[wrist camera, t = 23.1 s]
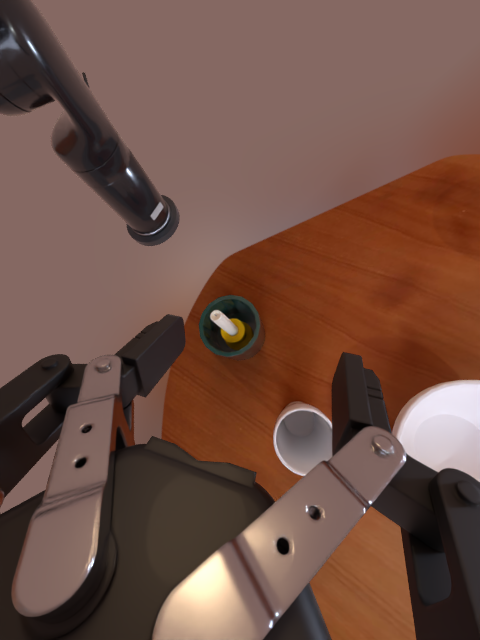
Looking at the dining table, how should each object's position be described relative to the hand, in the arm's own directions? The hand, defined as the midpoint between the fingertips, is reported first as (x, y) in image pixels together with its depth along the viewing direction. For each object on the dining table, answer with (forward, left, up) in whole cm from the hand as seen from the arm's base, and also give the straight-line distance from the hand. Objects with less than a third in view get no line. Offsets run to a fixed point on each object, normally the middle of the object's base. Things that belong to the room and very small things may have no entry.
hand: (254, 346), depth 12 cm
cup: (-9, -2, -31) cm, 32 cm away
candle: (-8, -3, -30) cm, 32 cm away
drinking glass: (+8, -1, -31) cm, 32 cm away
